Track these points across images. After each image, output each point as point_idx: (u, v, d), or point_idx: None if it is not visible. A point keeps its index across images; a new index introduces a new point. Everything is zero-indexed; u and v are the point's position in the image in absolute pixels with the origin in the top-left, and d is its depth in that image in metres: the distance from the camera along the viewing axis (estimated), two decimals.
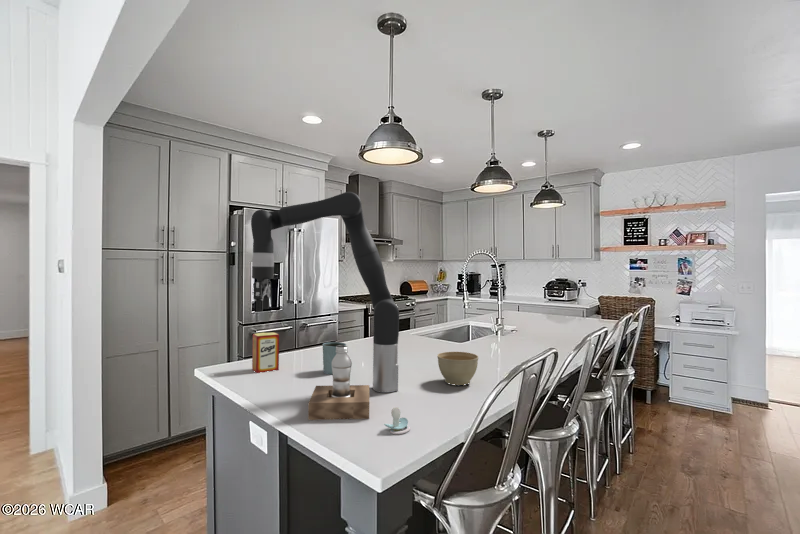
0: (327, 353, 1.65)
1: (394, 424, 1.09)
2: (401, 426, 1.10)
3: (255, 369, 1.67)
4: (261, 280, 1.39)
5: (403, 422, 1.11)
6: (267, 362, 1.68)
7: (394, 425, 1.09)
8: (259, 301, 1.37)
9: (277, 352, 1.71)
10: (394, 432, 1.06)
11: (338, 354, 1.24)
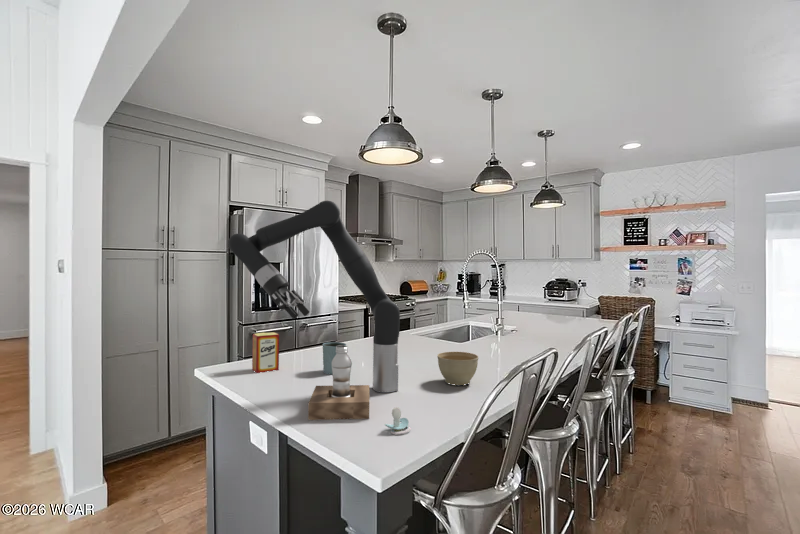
0: (327, 353, 1.65)
1: (395, 424, 1.09)
2: (402, 426, 1.09)
3: (255, 369, 1.67)
4: (277, 291, 1.29)
5: (404, 422, 1.11)
6: (267, 362, 1.68)
7: (395, 425, 1.09)
8: (288, 308, 1.27)
9: (277, 352, 1.71)
10: (395, 432, 1.06)
11: (338, 354, 1.24)
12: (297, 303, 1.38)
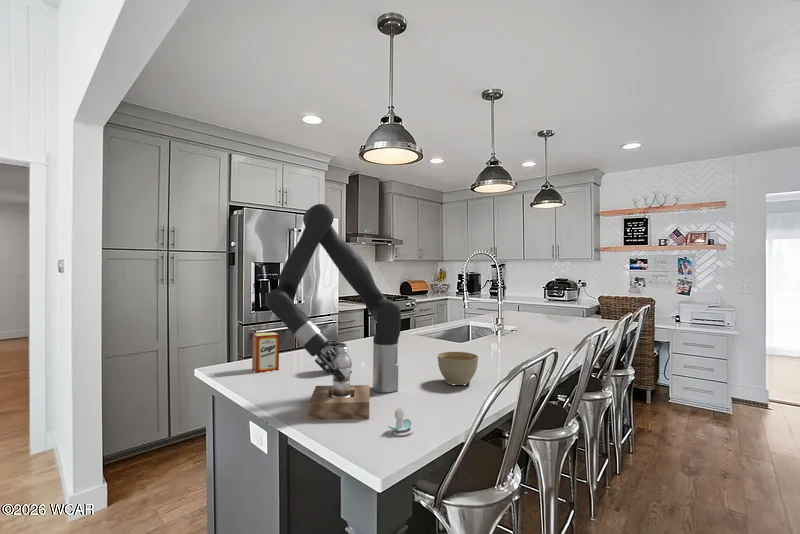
0: None
1: (397, 426, 1.08)
2: (404, 428, 1.08)
3: (255, 369, 1.67)
4: (319, 351, 1.22)
5: (406, 423, 1.10)
6: (267, 362, 1.68)
7: (397, 427, 1.08)
8: (335, 371, 1.21)
9: (277, 352, 1.71)
10: (397, 434, 1.05)
11: (338, 354, 1.24)
12: None
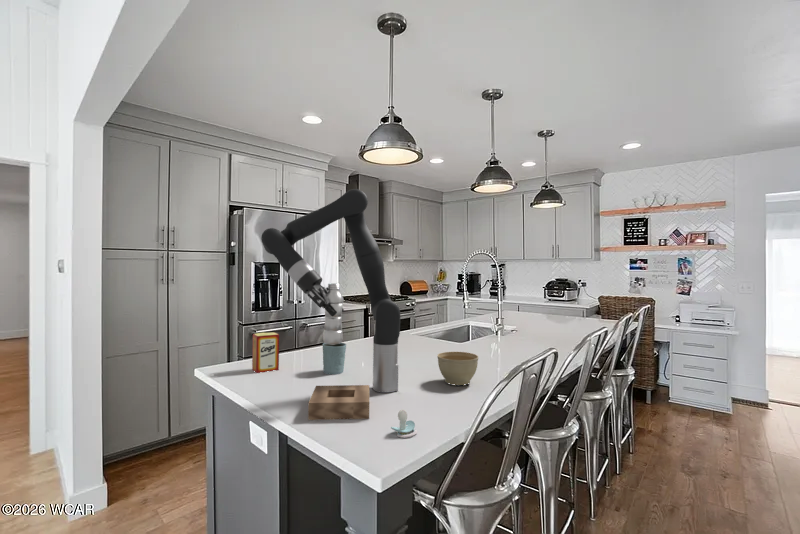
0: (327, 353, 1.65)
1: (401, 427, 1.07)
2: (408, 429, 1.07)
3: (255, 369, 1.67)
4: (311, 287, 1.26)
5: (410, 425, 1.09)
6: (267, 362, 1.68)
7: (401, 428, 1.07)
8: (327, 306, 1.25)
9: (277, 352, 1.71)
10: (401, 435, 1.04)
11: (330, 290, 1.27)
12: None
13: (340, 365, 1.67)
